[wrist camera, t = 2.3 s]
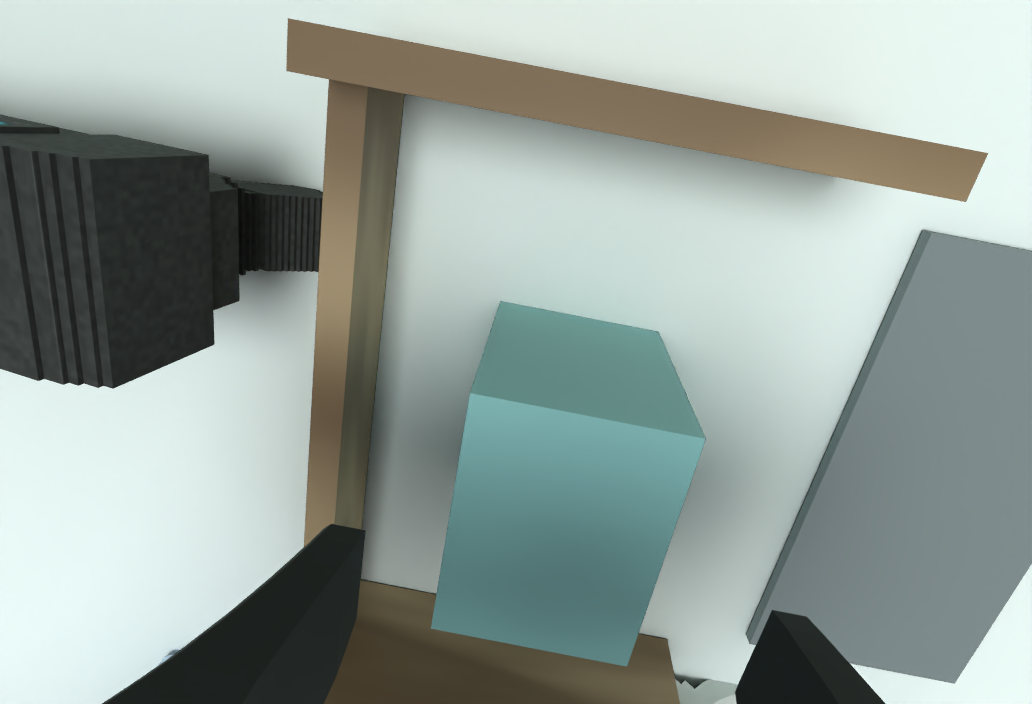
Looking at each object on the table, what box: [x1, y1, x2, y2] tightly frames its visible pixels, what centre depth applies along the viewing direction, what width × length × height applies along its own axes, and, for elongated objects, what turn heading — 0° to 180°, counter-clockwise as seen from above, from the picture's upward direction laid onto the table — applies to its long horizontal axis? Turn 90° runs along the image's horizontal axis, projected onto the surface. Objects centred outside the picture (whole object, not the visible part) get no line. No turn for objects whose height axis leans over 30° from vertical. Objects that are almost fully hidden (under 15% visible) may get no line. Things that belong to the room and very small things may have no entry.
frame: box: [287, 19, 988, 704], centre depth 15 cm, size 17×12×5 cm
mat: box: [746, 230, 1032, 684], centre depth 18 cm, size 14×7×1 cm, turn 170°
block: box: [431, 301, 706, 667], centre depth 15 cm, size 6×4×6 cm
